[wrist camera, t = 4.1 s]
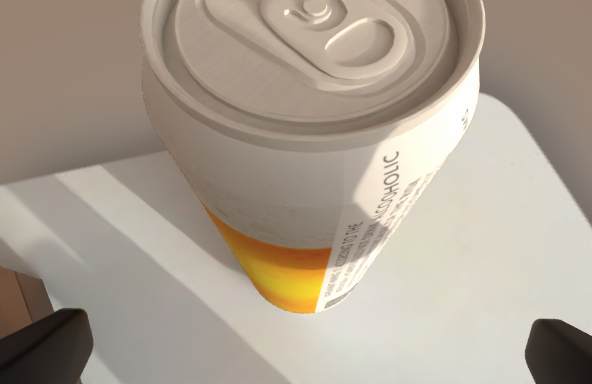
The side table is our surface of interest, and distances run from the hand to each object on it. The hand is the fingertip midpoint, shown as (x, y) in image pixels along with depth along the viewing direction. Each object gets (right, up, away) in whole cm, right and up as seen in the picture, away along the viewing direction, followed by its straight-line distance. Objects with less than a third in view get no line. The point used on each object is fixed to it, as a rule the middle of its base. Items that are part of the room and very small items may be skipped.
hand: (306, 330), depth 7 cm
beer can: (0, -1, +12) cm, 12 cm away
